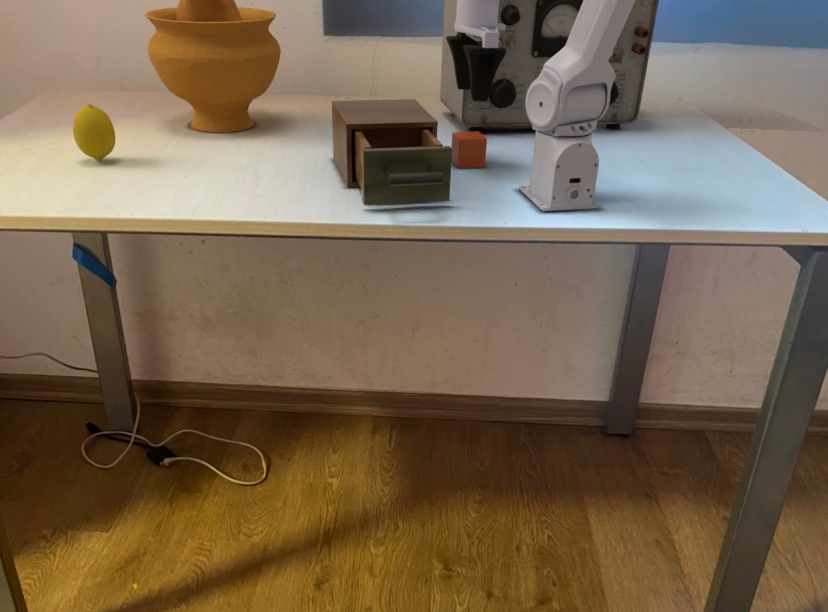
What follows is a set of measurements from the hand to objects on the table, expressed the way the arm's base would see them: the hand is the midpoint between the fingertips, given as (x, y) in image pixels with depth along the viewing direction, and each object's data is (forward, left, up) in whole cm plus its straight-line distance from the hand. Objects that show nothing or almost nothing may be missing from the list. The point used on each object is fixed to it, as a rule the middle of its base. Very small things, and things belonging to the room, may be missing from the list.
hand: (472, 94), depth 114 cm
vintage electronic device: (+23, -20, -10) cm, 32 cm away
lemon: (+8, +53, -10) cm, 55 cm away
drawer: (-15, +13, -9) cm, 22 cm away
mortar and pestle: (+28, +35, -10) cm, 46 cm away
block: (0, 0, -10) cm, 10 cm away
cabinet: (-2, +13, -10) cm, 17 cm away
